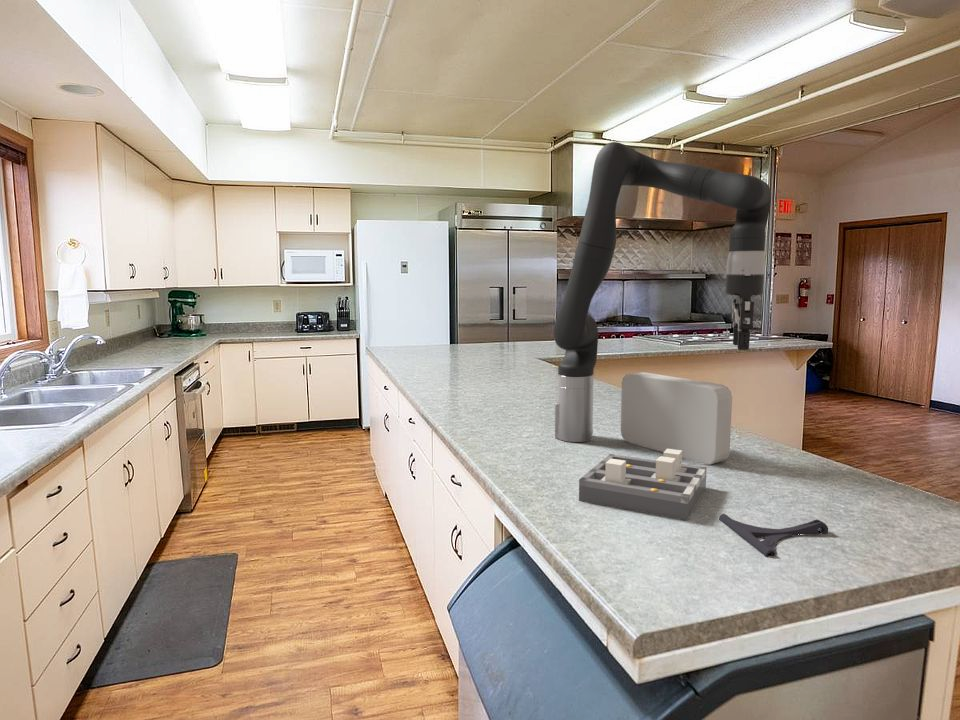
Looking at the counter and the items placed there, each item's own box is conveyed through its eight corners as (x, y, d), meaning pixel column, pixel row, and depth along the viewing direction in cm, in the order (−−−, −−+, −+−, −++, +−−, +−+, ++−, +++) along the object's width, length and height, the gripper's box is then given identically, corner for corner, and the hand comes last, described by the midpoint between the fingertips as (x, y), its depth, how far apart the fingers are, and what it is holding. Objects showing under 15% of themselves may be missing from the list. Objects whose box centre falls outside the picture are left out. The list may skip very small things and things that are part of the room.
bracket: (856, 555, 92) (857, 538, 92) (765, 560, 91) (766, 543, 90) (797, 519, 106) (798, 504, 106) (718, 523, 105) (719, 508, 105)
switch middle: (650, 481, 115) (650, 459, 114) (654, 476, 118) (655, 455, 117) (676, 485, 112) (677, 463, 112) (680, 480, 115) (681, 458, 115)
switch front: (599, 484, 114) (600, 462, 113) (605, 478, 117) (605, 457, 116) (625, 488, 111) (626, 466, 111) (630, 482, 114) (631, 461, 114)
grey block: (735, 461, 138) (739, 385, 135) (715, 467, 134) (718, 388, 131) (639, 435, 161) (641, 370, 159) (620, 440, 157) (621, 372, 155)
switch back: (657, 472, 120) (658, 451, 120) (661, 468, 123) (662, 447, 122) (683, 476, 118) (684, 455, 117) (686, 471, 121) (687, 451, 120)
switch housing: (578, 500, 114) (579, 478, 114) (609, 472, 131) (610, 453, 130) (687, 520, 104) (688, 496, 104) (705, 487, 121) (706, 466, 120)
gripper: (723, 273, 136) (719, 343, 139) (730, 272, 123) (725, 350, 125) (758, 273, 134) (754, 344, 137) (769, 272, 121) (764, 352, 123)
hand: (740, 347), depth 131 cm, fingers open, 8 cm apart
